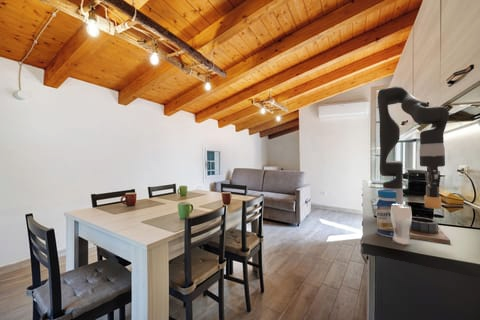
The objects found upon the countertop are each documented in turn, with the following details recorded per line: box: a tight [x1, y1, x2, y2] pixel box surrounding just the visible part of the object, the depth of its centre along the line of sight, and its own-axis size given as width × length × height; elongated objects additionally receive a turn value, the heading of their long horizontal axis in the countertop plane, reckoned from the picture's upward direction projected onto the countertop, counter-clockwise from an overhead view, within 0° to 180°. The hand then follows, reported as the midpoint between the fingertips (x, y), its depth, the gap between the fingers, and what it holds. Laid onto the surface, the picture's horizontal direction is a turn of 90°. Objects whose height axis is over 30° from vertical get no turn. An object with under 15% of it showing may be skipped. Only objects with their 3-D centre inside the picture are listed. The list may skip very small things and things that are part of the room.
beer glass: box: [390, 204, 413, 246], centre depth 82 cm, size 7×7×15 cm
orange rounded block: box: [423, 184, 442, 210], centre depth 82 cm, size 5×5×9 cm
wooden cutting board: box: [410, 226, 451, 245], centre depth 92 cm, size 20×14×2 cm
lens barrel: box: [410, 216, 439, 234], centre depth 92 cm, size 10×10×4 cm
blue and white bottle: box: [375, 189, 398, 238], centre depth 91 cm, size 8×8×20 cm
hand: (432, 196), depth 82 cm, fingers closed on orange rounded block
